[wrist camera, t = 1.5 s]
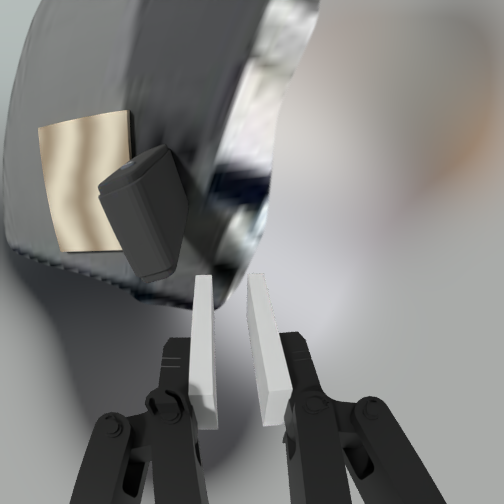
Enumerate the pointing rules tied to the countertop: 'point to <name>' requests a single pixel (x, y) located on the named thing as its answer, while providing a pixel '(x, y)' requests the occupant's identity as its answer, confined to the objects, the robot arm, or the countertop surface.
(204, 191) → the countertop surface
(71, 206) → the birch board
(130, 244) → the card reader
